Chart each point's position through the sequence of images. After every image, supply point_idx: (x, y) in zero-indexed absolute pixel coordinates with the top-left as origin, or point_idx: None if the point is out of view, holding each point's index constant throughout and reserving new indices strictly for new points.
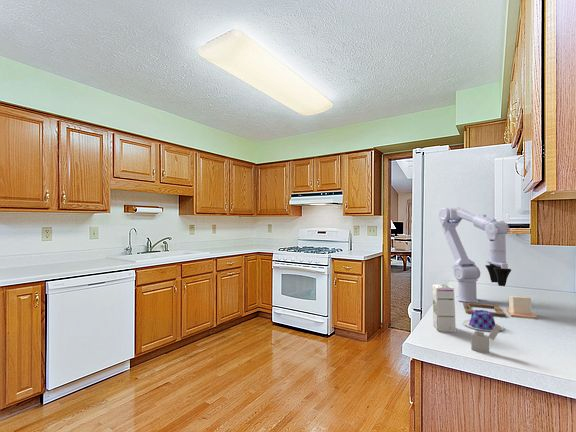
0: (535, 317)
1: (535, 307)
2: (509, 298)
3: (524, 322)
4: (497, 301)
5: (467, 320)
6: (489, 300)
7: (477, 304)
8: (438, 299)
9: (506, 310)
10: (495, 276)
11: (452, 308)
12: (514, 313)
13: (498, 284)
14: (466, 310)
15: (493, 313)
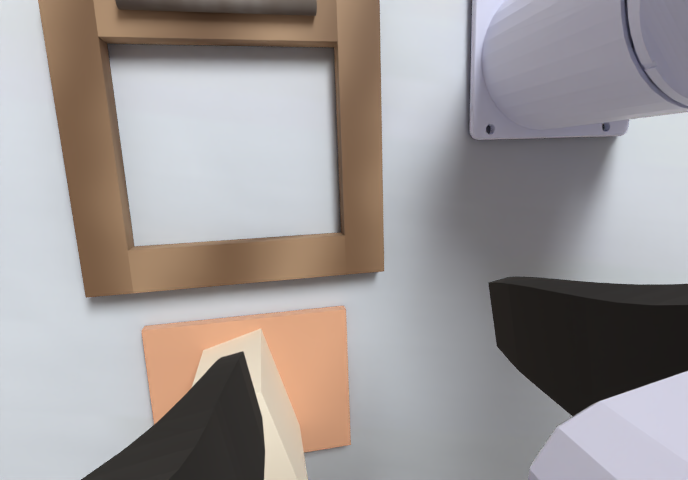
0: None
1: (484, 471)
2: (254, 380)
3: (8, 394)
4: (575, 274)
5: None
6: (590, 225)
7: (352, 115)
8: None
9: (307, 310)
10: (557, 363)
11: None
12: (201, 355)
13: (226, 357)
14: None
15: (73, 211)
